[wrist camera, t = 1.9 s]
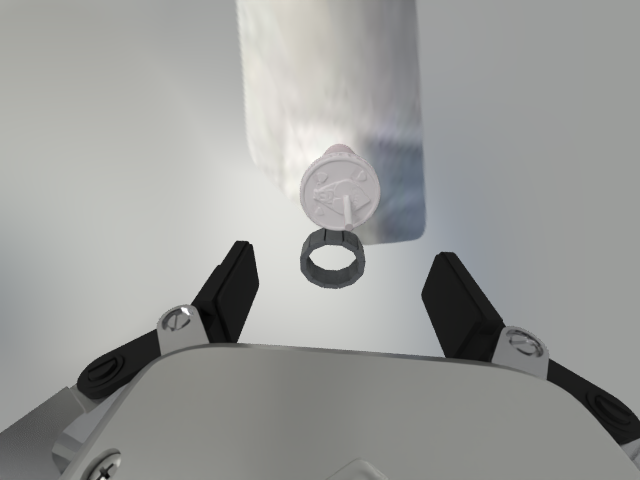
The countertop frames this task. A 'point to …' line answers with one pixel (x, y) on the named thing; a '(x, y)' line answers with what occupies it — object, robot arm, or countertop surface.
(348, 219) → the smoothie
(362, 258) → the ring
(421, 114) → the countertop surface
